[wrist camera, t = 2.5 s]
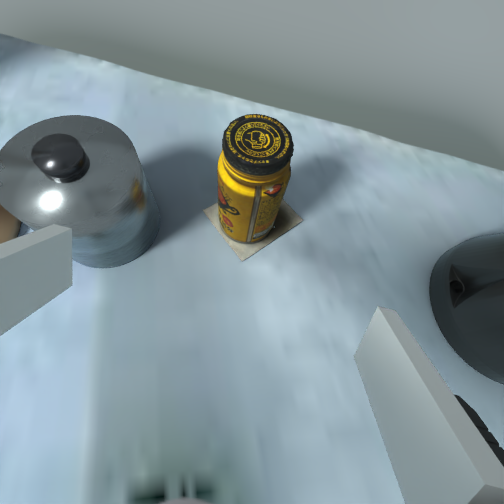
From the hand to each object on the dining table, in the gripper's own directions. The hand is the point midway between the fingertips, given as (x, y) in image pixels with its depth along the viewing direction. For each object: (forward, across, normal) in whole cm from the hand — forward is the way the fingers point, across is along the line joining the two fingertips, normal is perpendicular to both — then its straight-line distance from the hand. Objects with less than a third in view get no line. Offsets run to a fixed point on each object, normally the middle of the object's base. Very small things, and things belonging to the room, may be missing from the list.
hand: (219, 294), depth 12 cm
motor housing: (+17, -14, -5) cm, 22 cm away
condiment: (+20, 0, -2) cm, 20 cm away
